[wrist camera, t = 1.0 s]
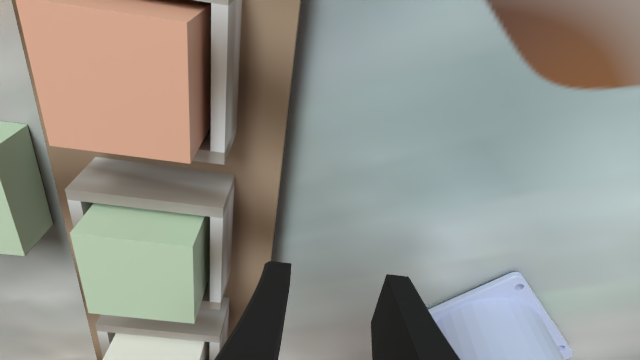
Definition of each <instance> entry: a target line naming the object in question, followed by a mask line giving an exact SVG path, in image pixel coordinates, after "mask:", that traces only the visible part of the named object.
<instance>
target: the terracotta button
mask: <svg viewBox="0 0 640 360" xmlns="http://www.w3.org/2000/svg"><path fill="white" fill-rule="evenodd" d="M16 5H17V9H18V13H19V17H20V22H21V26H22V30H23V35H24V39H25V43H26V47H27V52H28V56H29V60H30V65H31V69H32V73H33V77H34V82H35V86H36V90H37V95H38V99H39V103H40V107H41V112H42V116H43V120H44V125H45V129H46V133H47V137H48V142H49V146H56V147H63V148H71V149H79V150H87V151H95V152H102V153H110V154H118V155H126V156H133V157H141V158H149V159H157V160H165V161H172V162H180V163H188V164H191V162H192V160H193V158H194V156H195V154H196V153H197V151H198V149H199V147H200V145H201V143H202V142H203V140H204V138H205V136H206V134H207V132H208V130H209V129H210V127H211V3H208V2H202V1H196V0H16Z"/></svg>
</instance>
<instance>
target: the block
mask: <svg viewBox="0 0 640 360" xmlns="http://www.w3.org/2000/svg"><path fill="white" fill-rule="evenodd" d="M52 225H53V222H52V218H51V215H50V211H49V207H48V203H47V199H46V195H45V191H44V187H43V184H42V180H41V176H40V172H39V168H38V164H37V160H36V156H35V152H34V149H33V145H32V141H31V137H30V133H29V129H28V125H26V124H18V123H11V122H3V121H0V254H9V255H18V256H26V254H27V253H28V252H29V251H30V250H31V249H32V248H33V247H34V245H35V244H36V243H37V242H38V241H39V240H40V239H41V237H42V236H43V235H44V234H45V233H46V232H47V231H48V230H49V228H50V227H51V226H52Z"/></svg>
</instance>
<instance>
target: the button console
mask: <svg viewBox="0 0 640 360" xmlns="http://www.w3.org/2000/svg"><path fill="white" fill-rule="evenodd" d="M196 1H202V2H208V3H211V127H210V129H209V130H208V132H207V134H206V136H205V138H204V140H203V142H202V143H201V145H200V147H199V149H198V151H197V153H196V154H195V156H194V158H193V160H192V162H191V164H188V163H180V162H172V161H165V160H157V159H149V158H141V157H133V156H126V155H118V154H110V153H102V152H95V151H87V150H79V149H71V148H63V147H56V146H49V142H48V137H47V133H46V129H45V125H44V120H43V116H42V112H41V107H40V103H39V99H38V95H37V90H36V86H35V82H34V77H33V73H32V69H31V65H30V60H29V56H28V52H27V47H26V43H25V39H24V35H23V30H22V26H21V22H20V17H19V13H18V9H17V5H16V0H12V4H13V8H14V12H15V16H16V20H17V25H18V29H19V33H20V37H21V41H22V46H23V50H24V54H25V58H26V62H27V67H28V71H29V75H30V79H31V84H32V88H33V92H34V96H35V100H36V105H37V109H38V113H39V117H40V121H41V126H42V130H43V134H44V138H45V142H46V147H47V151H48V155H49V159H50V163H51V168H52V172H53V176H54V180H55V184H56V189H57V193H58V197H59V201H60V205H61V210H62V214H63V218H64V222H65V226H66V231H67V235H68V239H69V243H70V248H71V252H72V256H73V260H74V264H75V269H76V273H77V277H78V281H79V285H80V290H81V294H82V298H83V302H84V306H85V311H86V315H87V319H88V323H89V327H90V332H91V336H92V340H93V344H94V348H95V353H96V357H97V360H103V358H104V356H105V354H106V352H107V350H108V348H109V346H110V344H111V342H112V340H113V338H114V336H115V334H116V333H122V334H132V335H142V336H153V337H163V338H173V339H184V340H194V341H204V342H210V354H209V360H214V359H215V358H216V356H217V355H218V353H219V352H220V350H221V349H222V347H223V346H224V344H225V342H226V341H227V339H228V338H229V336H230V335H231V333H232V331H233V330H234V328H235V327H236V325H237V323H238V321H239V320H240V318H241V316H242V314H243V312H244V311H245V309H246V307H247V305H248V303H249V301H250V299H251V297H252V295H253V293H254V291H255V289H256V287H257V285H258V282H259V280H260V277H261V275H262V272H263V268H264V265H265V263H267V262H269V261H272V252H273V244H274V235H275V226H276V217H277V209H278V200H279V191H280V183H281V174H282V165H283V156H284V148H285V139H286V130H287V121H288V113H289V104H290V95H291V87H292V78H293V69H294V60H295V52H296V43H297V34H298V25H299V17H300V8H301V0H196ZM93 203H99V204H108V205H116V206H125V207H133V208H141V209H150V210H158V211H166V212H175V213H183V214H192V215H200V216H208V217H210V277H209V280H208V283H207V286H206V289H205V292H204V295H203V299H202V302H201V305H200V308H199V311H198V314H197V318H196V321H195V324H192V323H182V322H172V321H162V320H152V319H142V318H132V317H122V316H112V315H102V314H92V313H88V309H87V305H86V300H85V296H84V292H83V288H82V283H81V279H80V275H79V270H78V266H77V262H76V258H75V253H74V249H73V245H72V240H71V236H70V232H71V231H72V230H73V228H74V227H75V226H76V225H77V223H78V222H79V221H80V220H81V218H82V217H83V216H84V215H85V213H86V212H87V211H88V210H89V208H90V207H91V206H92V205H93Z"/></svg>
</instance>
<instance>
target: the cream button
mask: <svg viewBox="0 0 640 360" xmlns="http://www.w3.org/2000/svg"><path fill="white" fill-rule="evenodd" d="M209 354H210V342H204V341H194V340H184V339H173V338H163V337H153V336H142V335H132V334H122V333H116V334H115V336H114V338H113V340H112V342H111V344H110V346H109V348H108V350H107V352H106V354H105V356H104V358H103V360H209Z"/></svg>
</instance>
